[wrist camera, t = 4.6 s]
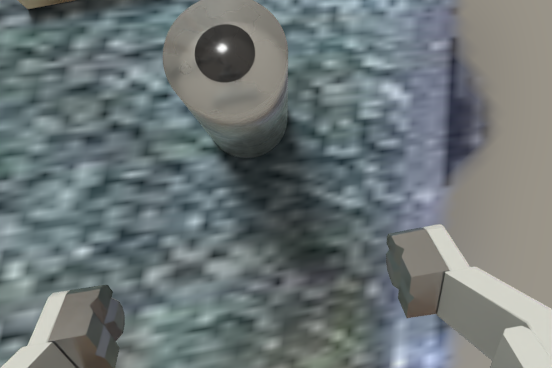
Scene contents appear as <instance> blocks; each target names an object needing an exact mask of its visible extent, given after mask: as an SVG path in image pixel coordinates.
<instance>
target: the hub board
mask: <svg viewBox="0 0 552 368" xmlns="http://www.w3.org/2000/svg"><path fill="white" fill-rule="evenodd" d="M18 1H19V2H20V3H21V4H22V5H23V6H25V7H26V8H27V9H32V8H37V7H42V6H48V5H53V4H59V3H64V2H69V1H75V0H18Z"/></svg>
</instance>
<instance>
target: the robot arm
mask: <svg viewBox="0 0 552 368" xmlns="http://www.w3.org/2000/svg"><path fill="white" fill-rule="evenodd" d="M387 245H388V248H389V251H388V252H387V253H386V265H387V271H388V274H389V277H390V280H391V282H392V285H393V286H395V287H396V288H398V289H399V293H398V299H399V301H400V304H401V306H402V308H403V310H404V313H405V315H406V317H407V318H411V317H418V316H424V315H431V314H437V316H439V317H440V318H441V319H442V320H443V321H445V322H446V323H447V324H448V325H449V326H451V327H452V328H453V329H454V330H456V331H457V332H458V333H459V334H460V335H462V336H463V337H464V338H465V339H466V340H468V341H469V342H470V343H471V344H473V345H474V346H475V347H476V348H477V349H479V350H480V351H481V352H482V353H483V354H485V355H486V356H487V357H488V358H490V359H491V360H492V364H491V366H490V368H552V309H551V308H549V307H547V306H545V305H544V304H542V303H540V302H538V301H536V300H535V299H533V298H531V297H529V296H528V295H526V294H524V293H522V292H520V291H519V290H517V289H515V288H513V287H511V286H510V285H508V284H506V283H504V282H503V281H501V280H499V279H497V278H495V277H494V276H492V275H490V274H488V273H486V272H485V271H483V270H481V269H479V268H478V267H470V266H469V264H468V263H467V261H466V260H465V258H464V257H463V255H462V253H461V252H460V250H459V249H458V247H457V246H456V244H455V243H454V241H453V240H452V238H451V237H450V235H449V234H448V232H447V231H446V229H445V228H444V226H442V225H441V224H439V225H433V226H428V227H423V228H416V229H411V230H406V231H400V232H395V233H390V234H388V236H387ZM112 293H113V291H112V290H111V289H110V287H109V286H108V285H101V286H94V287H88V288H81V289H74V290H69V291H63V292H57V293H53V294H52V295H51V296H50V297H48V299H47V302H46V304H45V306H44V309H43V311H42V313H41V315H40V318H39V320H38V322H37V325H36V327H35V329H34V332H33V334H32V336H31V339H30V341H29V343H28V346H26V347H22V348H21V349H20V350H19V351H18V352H17V353H16V354H14V355H13V356H12V357H11V358H10V359H9V360H8V361H7V362H6V363H5V364H4V365H3V366H2V367H1V368H115V365H116V361H117V357H118V352H119V348H120V347H119V346H118V344H117V342H116V341H117V339H118V338H119V337H120V336H121V335H122V334H123V330H124V325H125V315H124V311H123V307H122V305H121V304H120V302H119V301H117V300H115V299H113V298H111V297H112Z"/></svg>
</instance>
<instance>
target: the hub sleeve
mask: <svg viewBox="0 0 552 368" xmlns="http://www.w3.org/2000/svg"><path fill="white" fill-rule="evenodd" d="M163 65H164V70H165V74H166V76H167V79H168V81H169V83H170V85H171V87H172V88H173V90H174V91H175V92H176V94H177V95H178V96H179V97H180V99H181V100H182V101H183V102H184V104H185V105H186V106H187V108H188V109H189V110H190V111H191V113H192V114H193V115H194V116H195V118H196V119H197V120H198V121H199V123H200V124H201V125H202V127H203V128H204V129H205V130H206V132H207V133H208V134H209V135H210V137H211V138H212V139H213V140H214V142H215V143H216V144H217V145H218V146H219V147H220V148H221V149H222V150H223V151H225V152H226V153H228V154H230V155H232V156H235V157H240V158H254V157H259V156H261V155H264V154H266V153H268V152H269V151H271V150H272V149H273V148H274V147H276V146H277V144H278V143H279V142H280V141H281V139H282V137H283V135H284V133H285V130H286V127H287V102H288V47H287V41H286V37H285V34H284V32H283V29H282V27H281V25H280V24H279V22H278V21H277V19H276V18H275V17H274V15H273V14H272V13H271V12H269V11H268V10H267V9H266V8H265V7H263V6H262V5H260V4H259V3H257V2H255V1H253V0H201V1H199V2H197V3H195V4H193V5H192V6H190V7H189V8H188V9H186V10H185V11H184V12H183V13H182V14H181V15H180V16H179V17H178V18H177V19H176V20H175V22H174V23H173V25H172V26H171V28H170V30H169V32H168V34H167V37H166V40H165V43H164V48H163Z"/></svg>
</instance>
